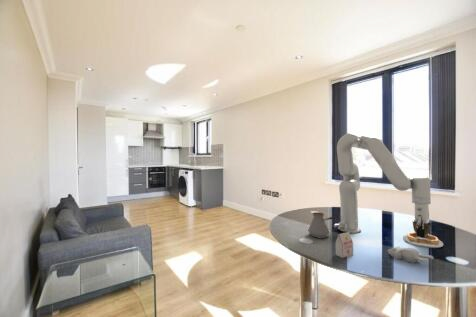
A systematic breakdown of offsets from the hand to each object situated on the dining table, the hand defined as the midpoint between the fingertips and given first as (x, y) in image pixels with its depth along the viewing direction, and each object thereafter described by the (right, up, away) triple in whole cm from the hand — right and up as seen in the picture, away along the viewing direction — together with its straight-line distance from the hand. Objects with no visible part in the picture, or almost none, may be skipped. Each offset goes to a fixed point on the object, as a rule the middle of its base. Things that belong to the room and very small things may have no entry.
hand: (421, 234), depth 116 cm
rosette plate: (0, -4, 0) cm, 4 cm away
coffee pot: (-47, -5, +8) cm, 48 cm away
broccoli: (0, -2, 0) cm, 2 cm away
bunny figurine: (-22, -5, -20) cm, 31 cm away
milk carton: (-47, -5, -14) cm, 49 cm away
